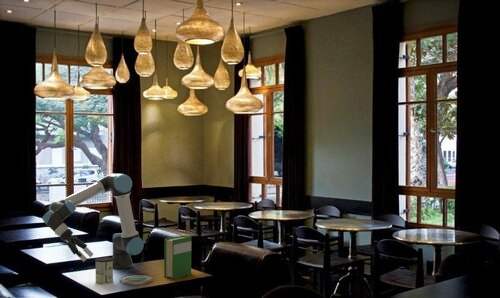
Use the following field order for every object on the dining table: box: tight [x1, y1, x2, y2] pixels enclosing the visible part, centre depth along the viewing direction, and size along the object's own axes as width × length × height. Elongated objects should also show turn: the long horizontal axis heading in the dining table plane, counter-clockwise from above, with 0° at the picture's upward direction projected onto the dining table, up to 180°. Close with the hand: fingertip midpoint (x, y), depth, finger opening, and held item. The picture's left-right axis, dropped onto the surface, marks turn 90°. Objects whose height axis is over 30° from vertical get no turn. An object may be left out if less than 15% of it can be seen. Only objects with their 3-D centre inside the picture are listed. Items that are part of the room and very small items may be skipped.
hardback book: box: [163, 235, 192, 280], centre depth 352 cm, size 18×7×24 cm, turn 148°
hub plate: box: [119, 274, 153, 286], centre depth 337 cm, size 19×19×2 cm
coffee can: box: [94, 256, 114, 285], centre depth 334 cm, size 10×10×14 cm
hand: (88, 257), depth 334 cm, fingers open, 13 cm apart
